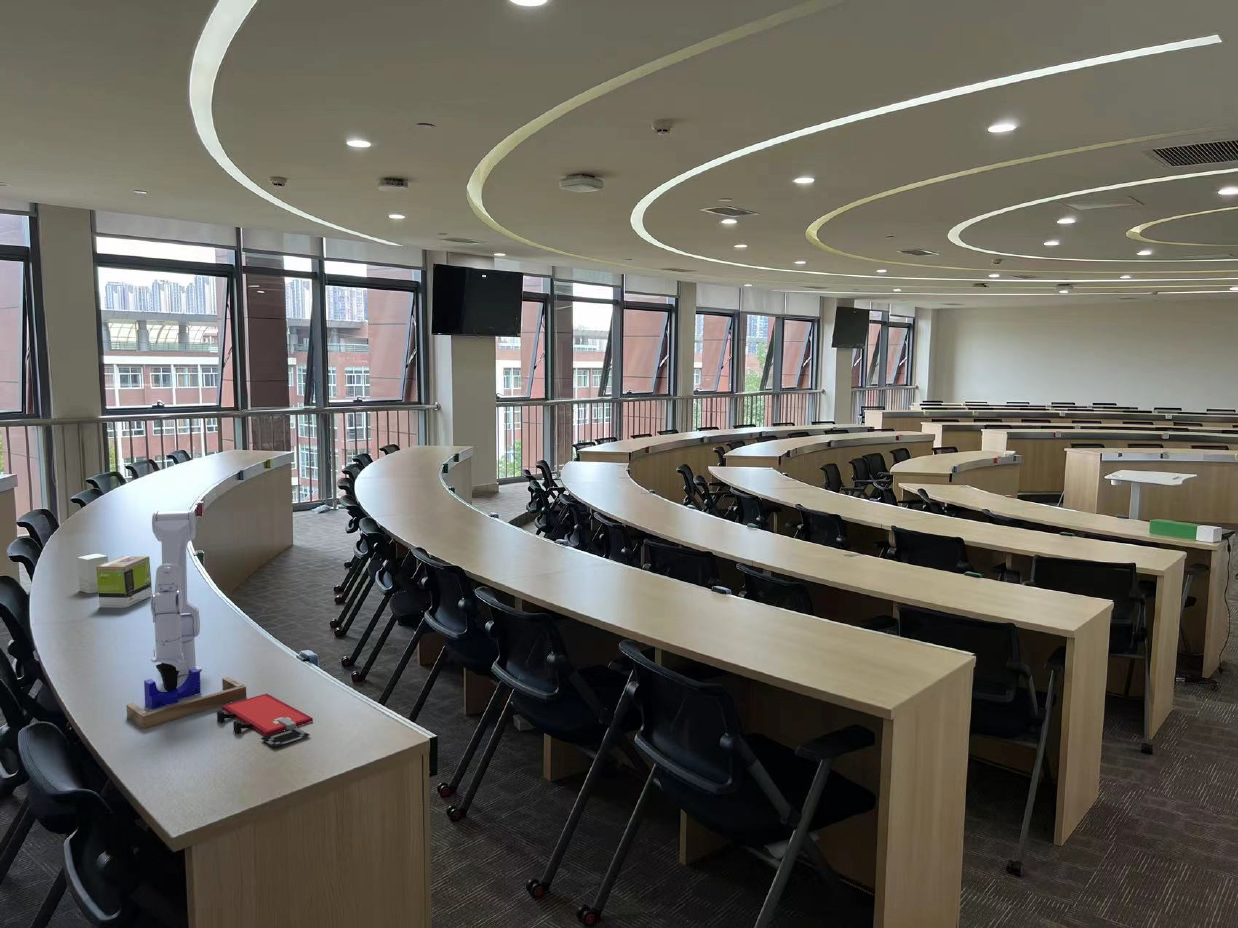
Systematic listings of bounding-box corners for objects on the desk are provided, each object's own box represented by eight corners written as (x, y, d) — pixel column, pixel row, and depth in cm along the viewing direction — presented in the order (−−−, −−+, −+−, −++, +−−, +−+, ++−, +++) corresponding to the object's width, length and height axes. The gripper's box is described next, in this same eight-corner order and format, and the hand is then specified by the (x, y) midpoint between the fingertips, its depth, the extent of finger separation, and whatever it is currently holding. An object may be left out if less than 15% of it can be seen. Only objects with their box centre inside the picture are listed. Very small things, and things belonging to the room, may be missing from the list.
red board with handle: (266, 753, 180) (329, 732, 191) (265, 741, 180) (329, 721, 191) (206, 715, 199) (266, 698, 211) (205, 704, 199) (266, 688, 211)
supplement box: (110, 589, 305) (108, 555, 303) (89, 594, 298) (86, 559, 297) (100, 586, 308) (98, 553, 307) (78, 590, 302) (76, 556, 301)
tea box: (125, 595, 297) (123, 555, 295) (153, 596, 297) (151, 555, 295) (97, 607, 282) (95, 565, 281) (126, 608, 282) (124, 565, 280)
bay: (127, 716, 197) (126, 704, 197) (228, 687, 215) (228, 676, 215) (143, 728, 191) (142, 716, 190) (246, 697, 209) (246, 686, 209)
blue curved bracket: (152, 709, 201) (151, 685, 201) (144, 703, 204) (144, 680, 203) (203, 695, 211) (202, 672, 210) (195, 689, 213) (194, 667, 213)
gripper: (139, 635, 209) (142, 687, 211) (163, 649, 200) (165, 703, 202) (169, 628, 215) (171, 679, 216) (193, 642, 205) (195, 694, 207)
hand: (170, 690), depth 209 cm, fingers closed, pressing on blue curved bracket
